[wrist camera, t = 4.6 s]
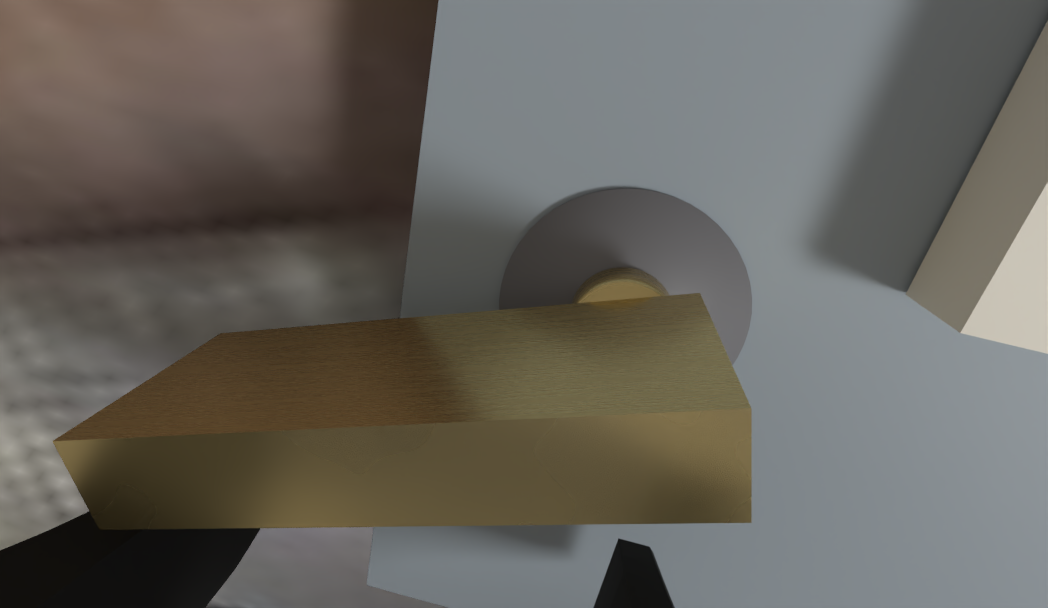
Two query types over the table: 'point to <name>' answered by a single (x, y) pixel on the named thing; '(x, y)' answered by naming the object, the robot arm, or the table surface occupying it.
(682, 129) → the grey flat rectangular board
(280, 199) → the table surface
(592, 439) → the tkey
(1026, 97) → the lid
